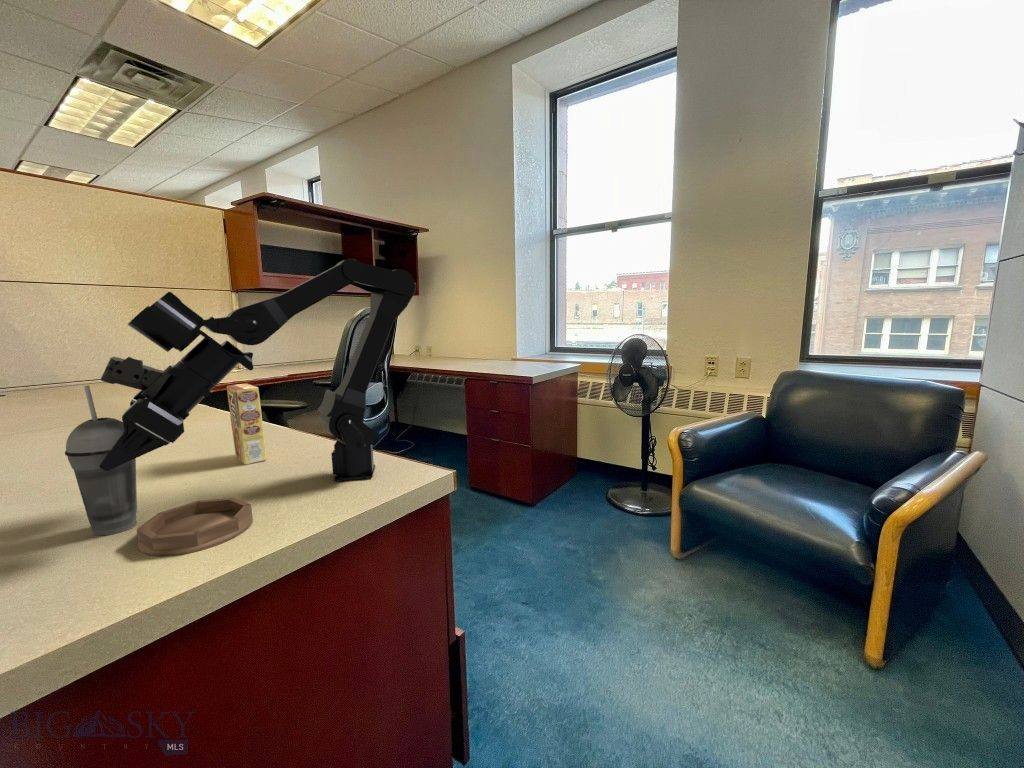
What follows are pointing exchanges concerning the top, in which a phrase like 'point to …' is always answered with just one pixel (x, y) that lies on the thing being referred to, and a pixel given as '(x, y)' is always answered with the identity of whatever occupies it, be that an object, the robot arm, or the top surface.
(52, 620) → the top surface
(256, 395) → the candy box
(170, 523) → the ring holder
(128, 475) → the beverage cup
